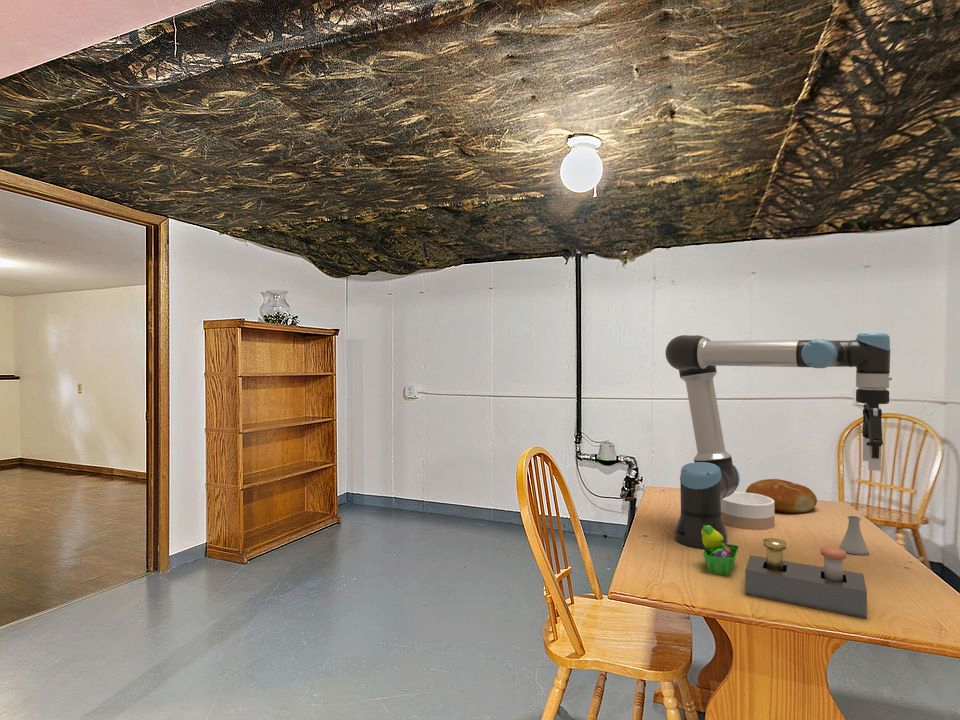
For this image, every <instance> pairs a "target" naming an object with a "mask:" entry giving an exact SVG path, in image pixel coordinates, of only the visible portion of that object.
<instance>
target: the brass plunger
mask: <svg viewBox="0 0 960 720" xmlns="http://www.w3.org/2000/svg"><path fill="white" fill-rule="evenodd" d="M762 542H763V543H762V545H763V547H765V548H766V558H767V569H770V570H776V571H782V572H783V561H784V550H787V548H788V547H787V546H788V545H787V541H785V540H783V539H779V538H774V537H766V538H764V539H763V540H762Z"/></svg>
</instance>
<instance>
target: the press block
mask: <svg viewBox="0 0 960 720" xmlns="http://www.w3.org/2000/svg"><path fill="white" fill-rule="evenodd" d="M744 572H745V573H744V575H745V577H744V578H745V580H744V581H745V589H744V590H745V592H744V593H745V595H747V596H752V597H756V598H761V599H767V600H772V601H778V602H781V603H787V604H792V605H798V606H802V607H807V608H812V609H818V610H822V611H827V612H833V613H837V614H841V615H842V614H843V615H846V616H847V615H848V616H851V617H858V618H862V619H868V589H867V585H866V582H865V577H864V573H861V572H853V571H849V570H843V582H839V581H833V580H827V579H824V567H823V566H818V565H813V564H812V565H811V564H807V563H806V564H805V563H801V562H800V563H799V562H793V561H787V560H783V572H782V571H776V570H770V569H767V557H766V556H764V557H763V556H757V555H752V554H751V555H749V558H748V560H747V563H746V567H745V571H744Z"/></svg>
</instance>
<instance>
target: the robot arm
mask: <svg viewBox="0 0 960 720" xmlns="http://www.w3.org/2000/svg"><path fill="white" fill-rule="evenodd" d="M890 339H891V338H890V335H889V334H887V333H886V332H862V333H861V332H860V333H857V335H856V337H855V339H853V340H852V339H850V340H834V339H833V340H828V339H819V338H818V339H817V338H816V339H802V340H799V339H795V340H794V339H792V340H791V339H788V340H786V339H784V340H783V339H782V340H778V339H776V340H772V339H771V340H768V339H767V340H711V339H710V338H707V337H706V336H703V335H700V334H699V335H687V334H683V335H678V336H676V337H674V338H673V339H671V340H670V341H669V342H668V343H667V345H666V348H665V353H664V354H665V358H666V359H665V360H666V361H667V363H668V364H669V365H670V366H671V367H672V368H673V369H675V370H678V373H679V378H680V379H681V380H682V381H684V382H685V385H686V386H685V387H686V393H687V399H688V404H689V411H690V415H691V421H692V427H693V428H692V429H693V433H694V439H695V445H696V451H697V453H696V455H695V456H694V458H693V462H689V463H686V464H684V465H683V466H681V469H680V476H679V481H680V482H679V483H680V484H679V485H680V486H679V487H680V490H679V491H680V515H679V519H678V521H677V524H676V526H675V531H674V539H675V541H676V542H678V544H679V543H680V544H681V545H685V546H688V547H692V548H696V549H704V550H705V548H706V547H705V546H704V544H703V542H702V534H701V530H702V529H703V526H704V525H705V526H706V525H710V526H712V527H713V528H714V529H715V530H716V531H718V532H719V533H720V534H721V535H722V536H723V538H724V540H723V541H722V543H725V544H728V533H727V531H726V529H725V524H724V523H723V522H722V519H721V500H722V499H723V498H725V497H728V496H730V495H731V494H733V492H736V490H737V489H738V487H739V485H740V481H741V479H740V472H739V469H737V467H736V466H735V465H734V463H733V457H732V454H730V453H729V452H727V450H726V446H725V442H724V441H725V440H724V435H723V430H722V423H721V418H720V413H719V408H718V407H719V406H718V400H717V394H716V388H715V383H714V378H715V376H716V375H717V374H718V372H717V366H719V367H723V366H725V367H767V368H768V367H769V368H771V367H773V368H775V367H776V368H777V367H779V368H813V369H826V368H830V367H831V368H833V367H834V368H835V367H840V368H841V367H844V368H845V367H847V368H854V367H855V368H856V371H855V372H856V373H855V386H856V388H857V389H856V390H855V402H856V403H859V404H863V409H862V420H863V421H862V429H861V430H862V431H861V434H862V462H867V463H868V464H867V466H868V467H867V469H868V471H878V472H881V471H882V446H883V444H884V442H883V427H882V416H883V410H882V408H879V405H887V404H889V403H890V391H889V390H888V388H890V381H892V380H893V377H891V376H890V373H891V372H890V371H891V370H890V367H891V342H890V341H891V340H890Z"/></svg>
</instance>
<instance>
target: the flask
mask: <svg viewBox="0 0 960 720" xmlns="http://www.w3.org/2000/svg"><path fill="white" fill-rule="evenodd" d="M847 519H848V525H847V529H846V532H845V534H844V536H843V539H842V541H841V542H840V545H839V548H840V549H843V550H845V551H846V554H847V553H848V554H853V555H860V556H861V555H865V556H866V555H870V552H869V549H868V547H867V544H866V542H865V539H864V538H863V537H864V536H863V534H862V530H861V526H860V521H861V520H862V519H861V517H860V516H857V515H847Z"/></svg>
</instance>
